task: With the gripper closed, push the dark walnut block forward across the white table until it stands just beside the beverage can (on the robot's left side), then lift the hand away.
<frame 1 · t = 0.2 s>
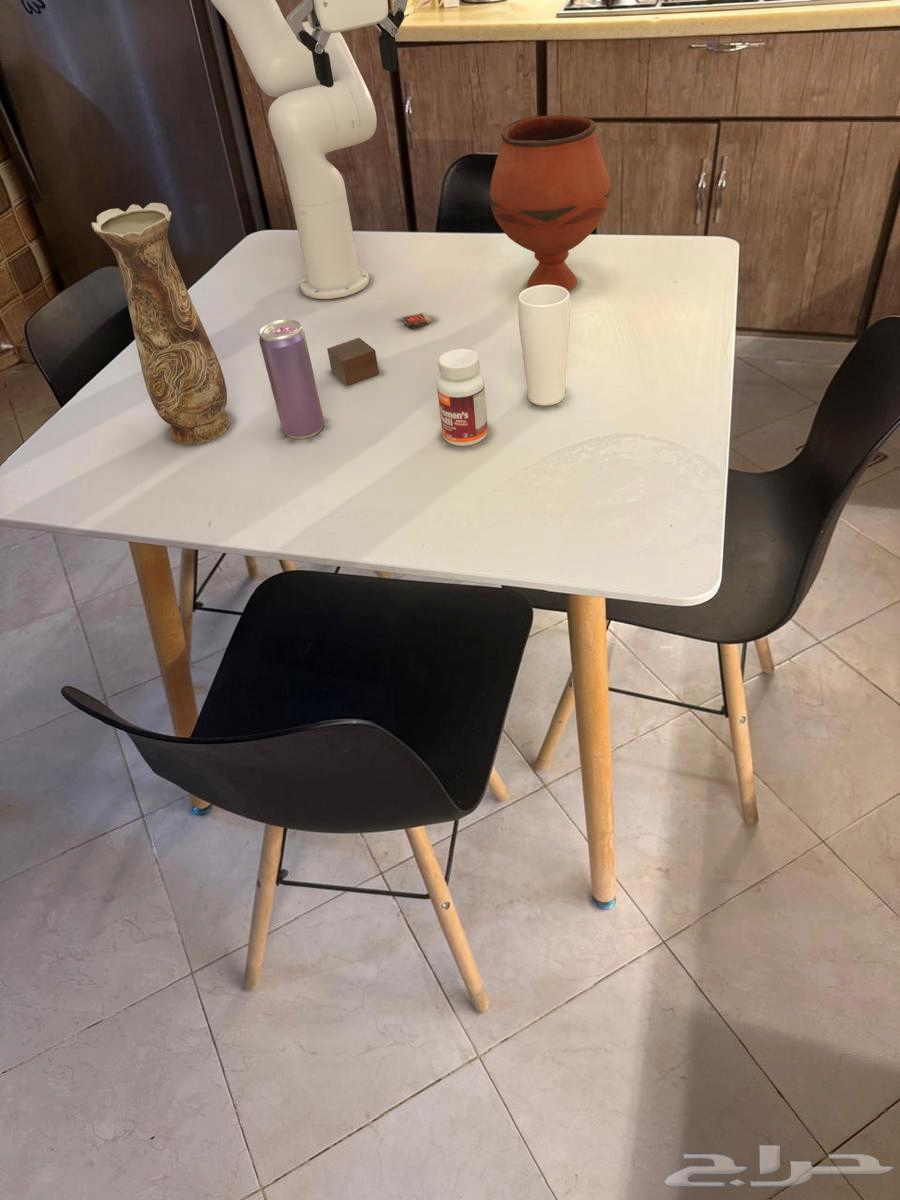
hand: (358, 78, 119), 37 cm above the table, tool pointing down, fingers open, 9 cm apart
walnut block: (355, 373, 133), on the table
beverage can: (304, 430, 123), on the table
pill bottle: (465, 436, 117), on the table
vase: (201, 430, 126), on the table
drinking glass: (546, 399, 123), on the table
painted wall fragment: (417, 322, 145), on the table
goblet: (551, 285, 151), on the table
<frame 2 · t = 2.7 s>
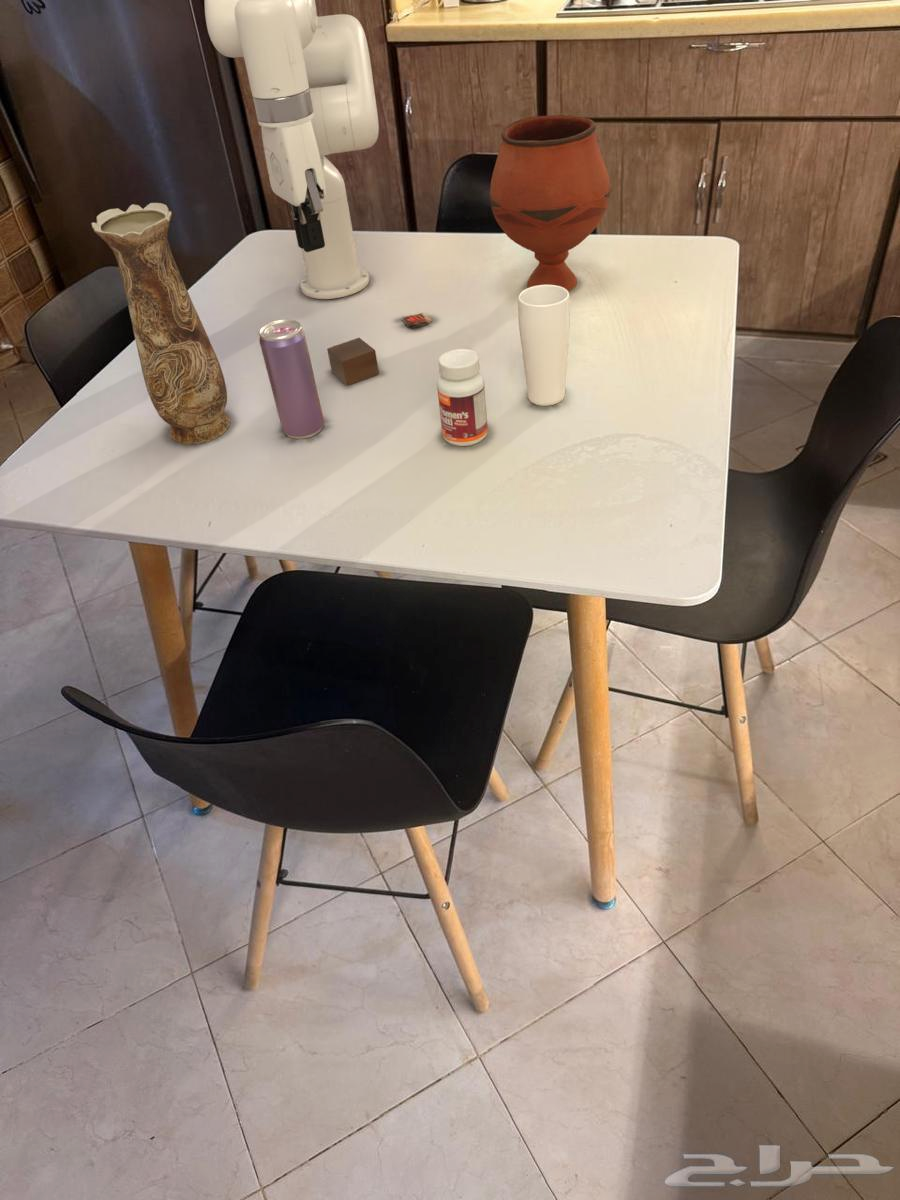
hand: (312, 246, 127), 17 cm above the table, tool pointing down, fingers closed
nothing on the table moved.
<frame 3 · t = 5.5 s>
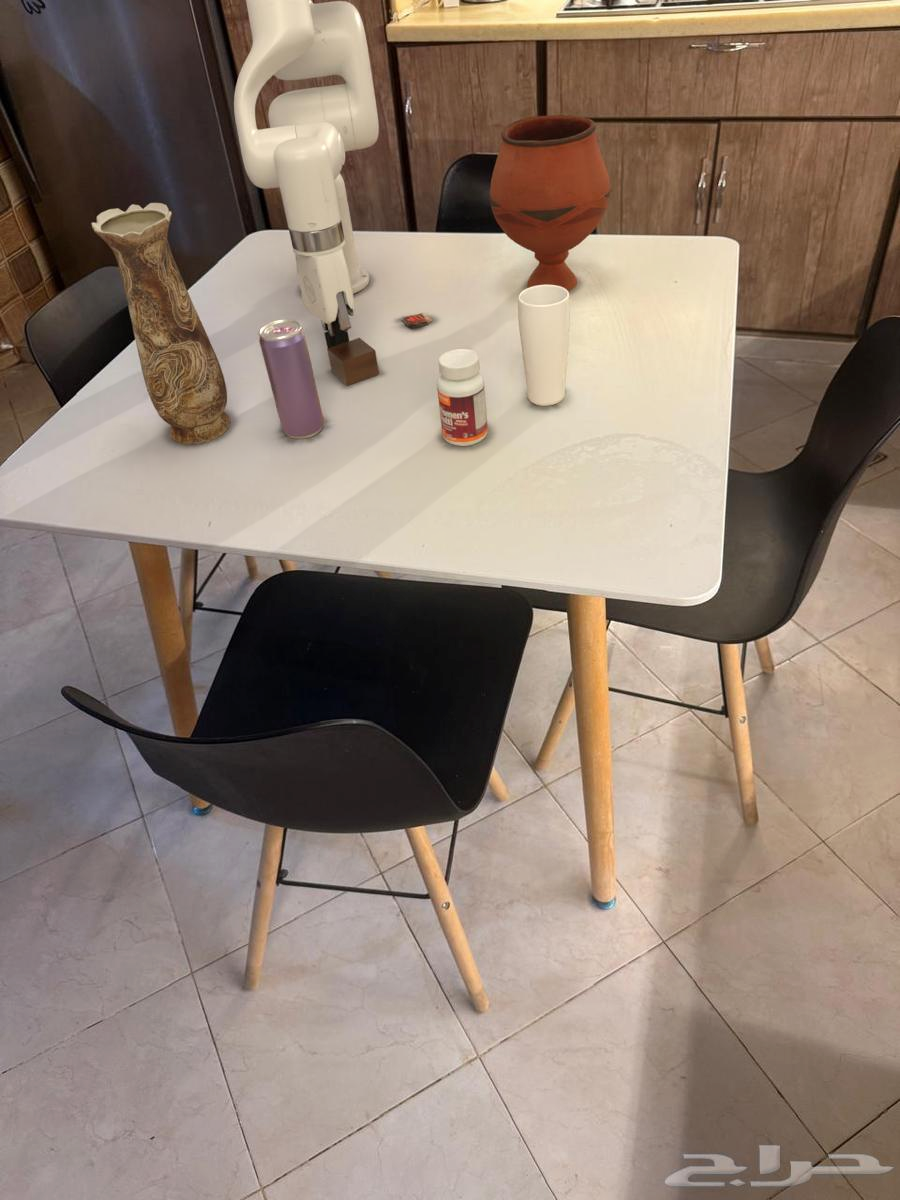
hand: (340, 354, 136), 1 cm above the table, tool pointing down, fingers closed
walnut block: (355, 373, 133), on the table, touching gripper
everything else where it was.
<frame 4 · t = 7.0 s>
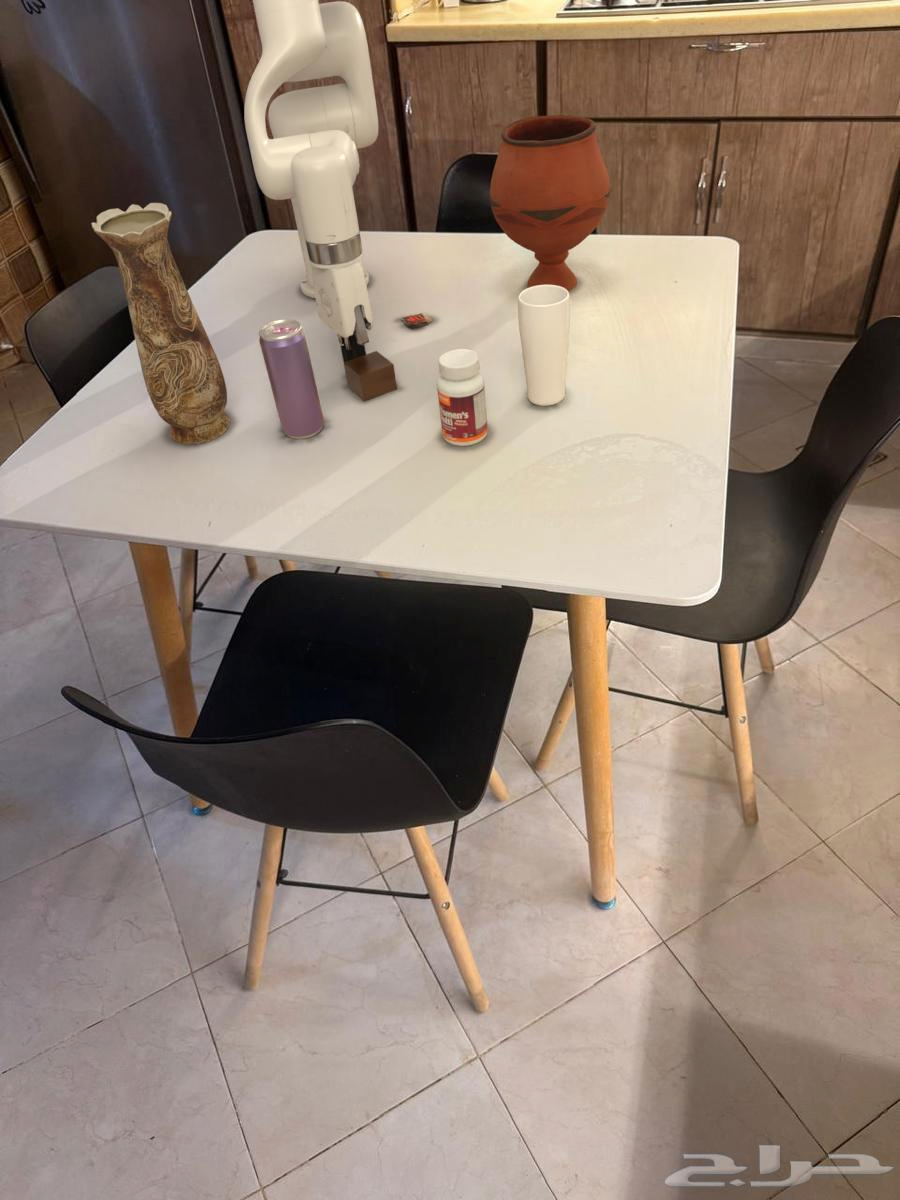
hand: (356, 368, 132), 1 cm above the table, tool pointing down, fingers closed
walnut block: (372, 387, 130), on the table, touching gripper
everything else where it was.
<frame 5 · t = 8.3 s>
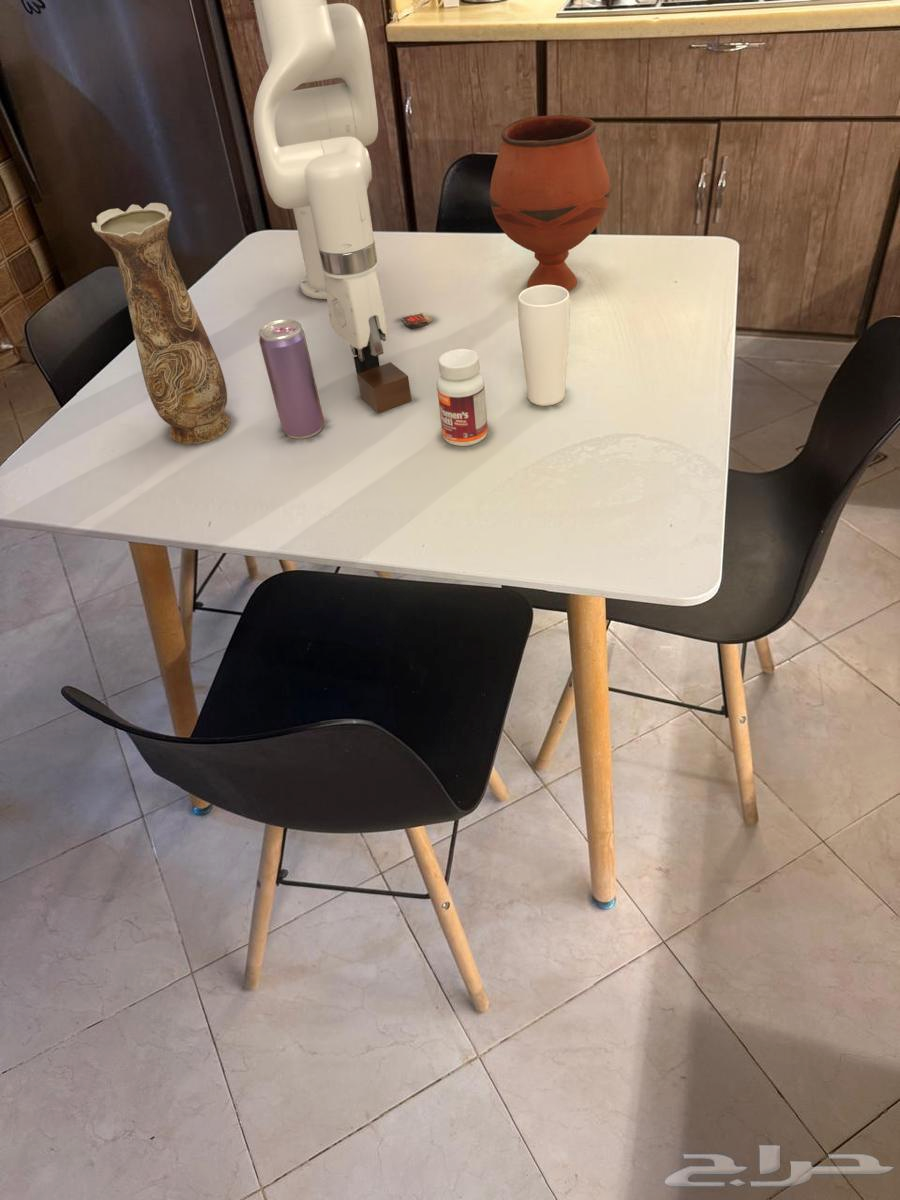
hand: (369, 380, 129), 1 cm above the table, tool pointing down, fingers closed
walnut block: (386, 399, 127), on the table, touching gripper
everything else where it was.
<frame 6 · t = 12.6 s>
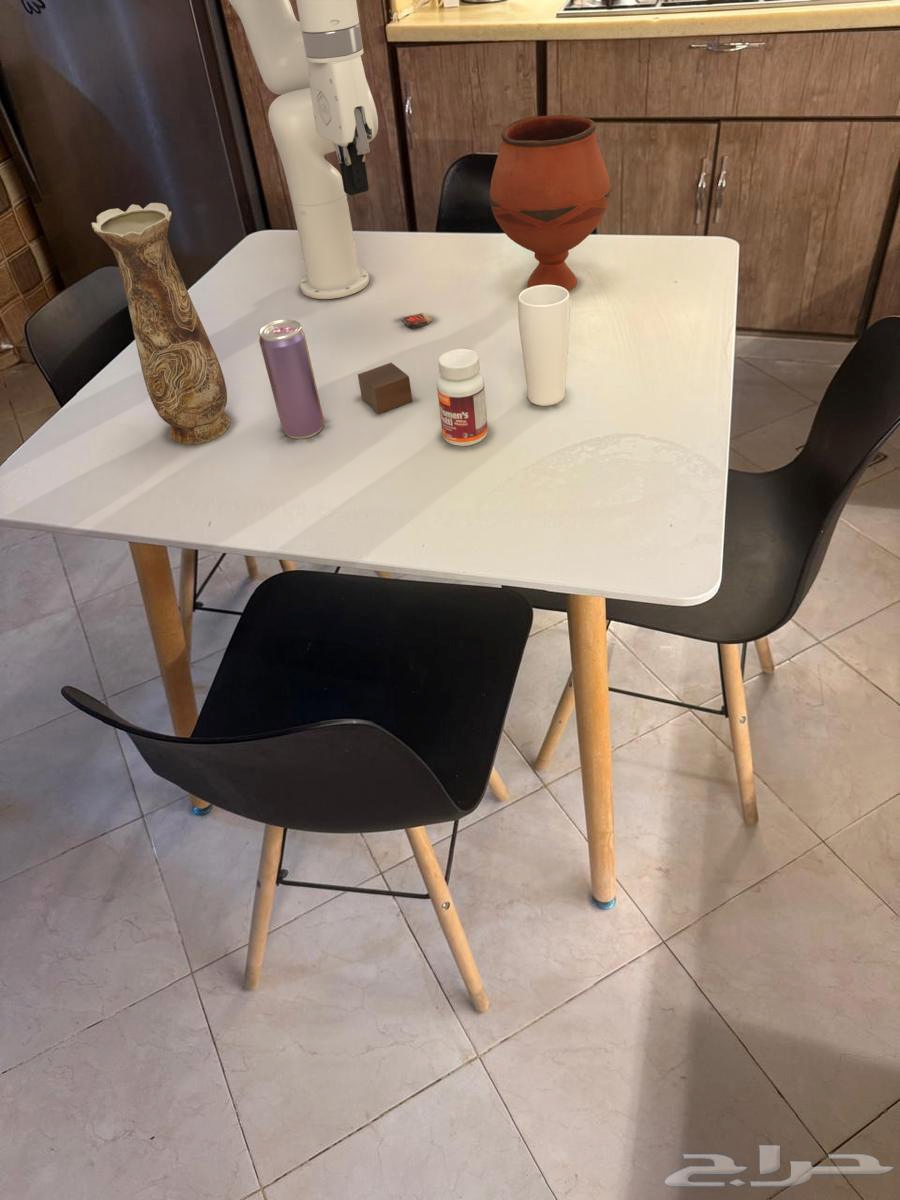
hand: (356, 191, 125), 23 cm above the table, tool pointing down, fingers closed
walnut block: (387, 400, 126), on the table
everything else where it was.
at the end: walnut block inside the target area on the table beside the beverage can (0.6 cm from its centre), on the table; walnut block tilted 0°; beverage can moved 0.2 cm from its start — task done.
